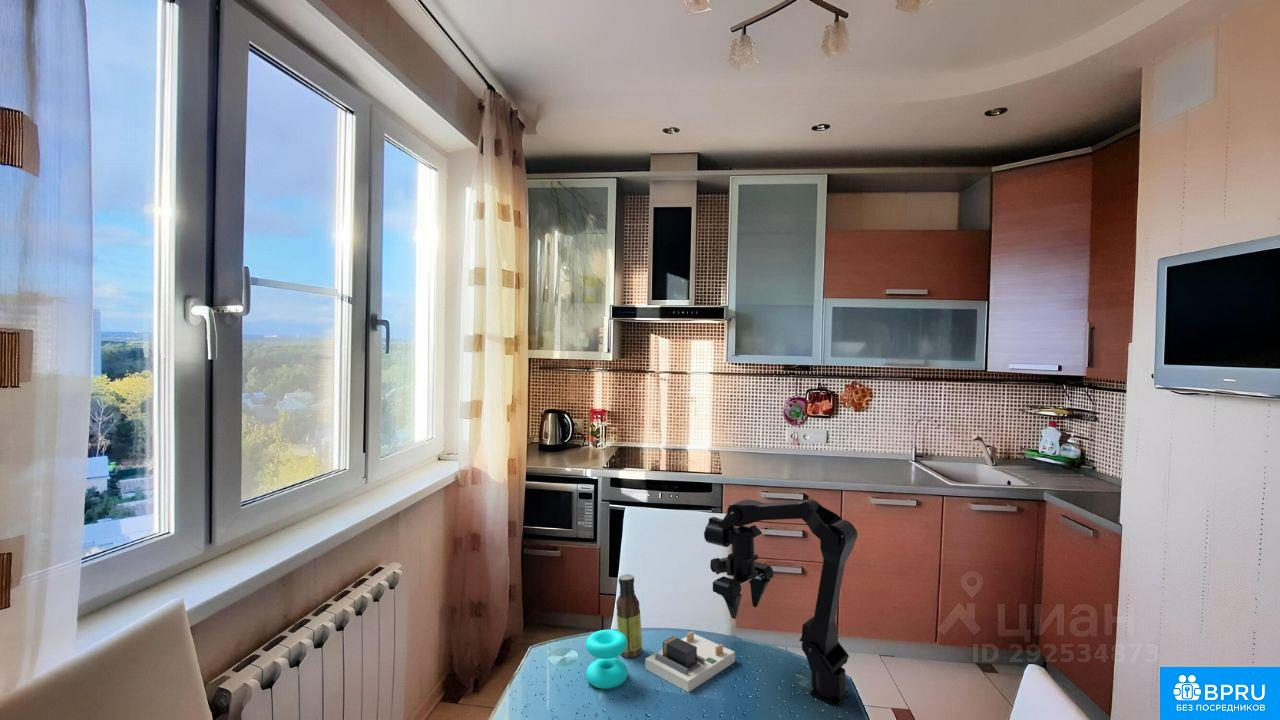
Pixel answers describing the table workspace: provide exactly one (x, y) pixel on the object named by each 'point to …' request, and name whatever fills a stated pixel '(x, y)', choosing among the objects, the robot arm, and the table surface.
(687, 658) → the battery
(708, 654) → the cradle
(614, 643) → the donuts
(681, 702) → the table surface
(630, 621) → the sauce bottle
